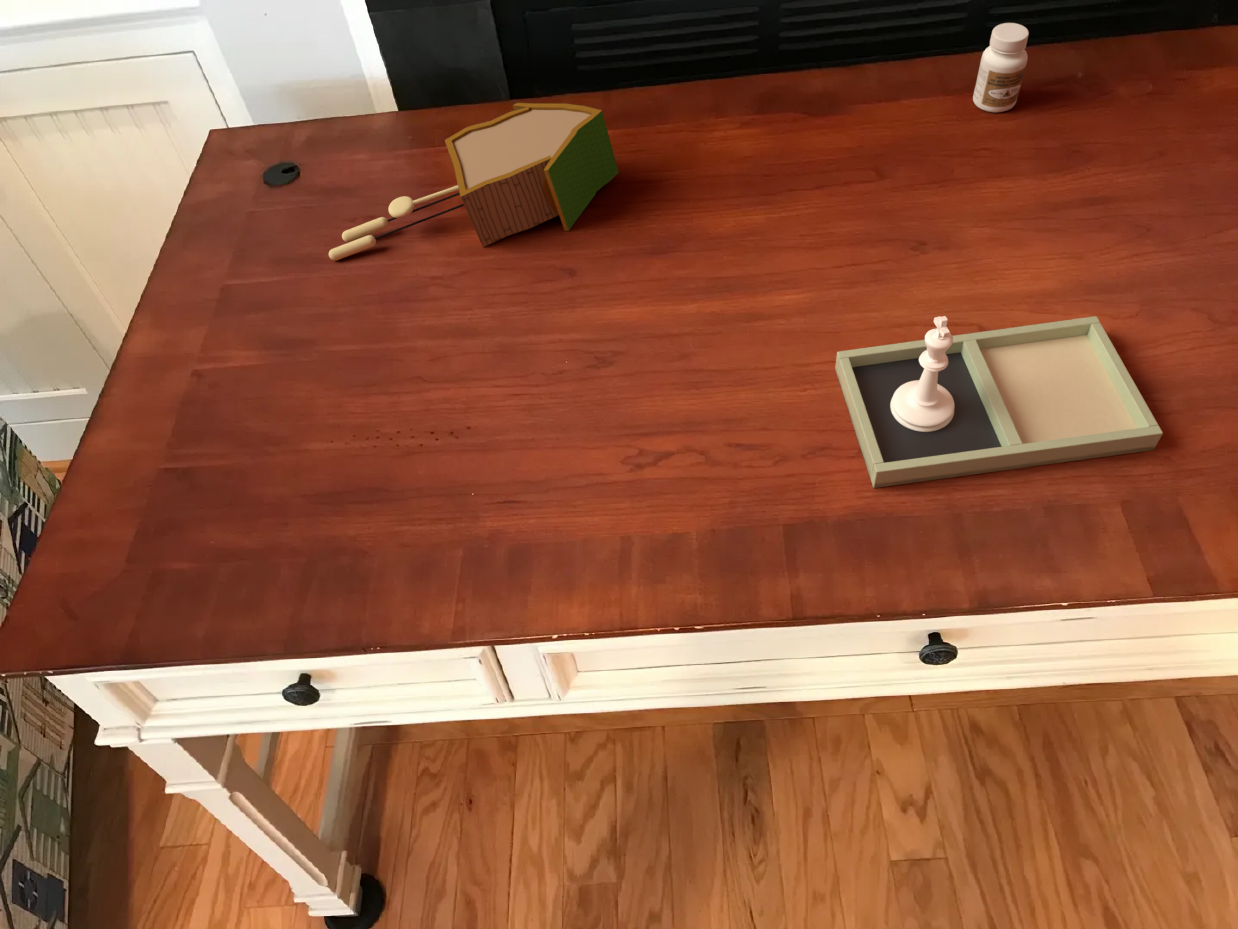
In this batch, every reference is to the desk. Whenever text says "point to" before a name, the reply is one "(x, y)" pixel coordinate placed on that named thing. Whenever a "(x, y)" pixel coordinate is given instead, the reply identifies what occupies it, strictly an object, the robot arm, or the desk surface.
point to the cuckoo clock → (515, 173)
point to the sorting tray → (999, 403)
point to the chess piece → (927, 386)
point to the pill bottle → (1002, 68)
